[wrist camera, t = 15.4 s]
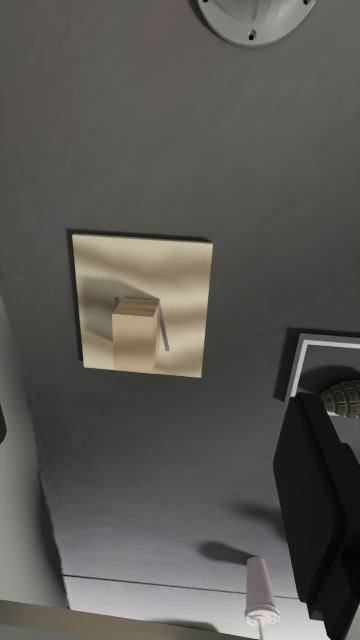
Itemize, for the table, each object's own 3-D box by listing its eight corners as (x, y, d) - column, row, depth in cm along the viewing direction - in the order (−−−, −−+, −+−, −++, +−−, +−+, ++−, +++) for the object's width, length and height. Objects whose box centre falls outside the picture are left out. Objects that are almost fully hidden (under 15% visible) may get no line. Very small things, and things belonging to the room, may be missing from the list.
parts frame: (300, 333, 45) (303, 339, 44) (426, 343, 44) (435, 350, 43) (284, 402, 51) (287, 410, 49) (397, 412, 50) (404, 421, 48)
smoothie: (244, 550, 67) (252, 639, 54) (275, 556, 66) (290, 646, 54) (237, 567, 69) (243, 656, 57) (266, 573, 69) (279, 663, 56)
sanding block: (123, 296, 44) (111, 313, 39) (160, 299, 44) (153, 317, 38) (125, 347, 47) (114, 369, 42) (158, 350, 47) (152, 373, 42)
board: (75, 233, 42) (72, 235, 41) (212, 242, 41) (212, 244, 40) (86, 362, 51) (84, 367, 50) (201, 372, 50) (200, 377, 48)
